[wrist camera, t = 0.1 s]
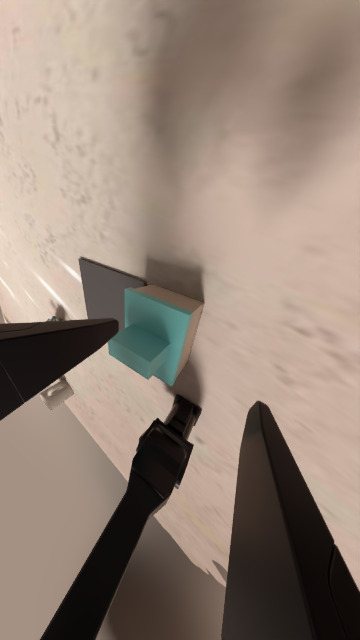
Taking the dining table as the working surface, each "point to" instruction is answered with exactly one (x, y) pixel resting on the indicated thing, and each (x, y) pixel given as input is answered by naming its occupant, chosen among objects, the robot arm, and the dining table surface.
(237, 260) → the dining table surface
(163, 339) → the lid
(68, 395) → the coffee mug
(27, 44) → the dining table surface
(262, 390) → the dining table surface
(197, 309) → the storage box
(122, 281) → the rubber mat
